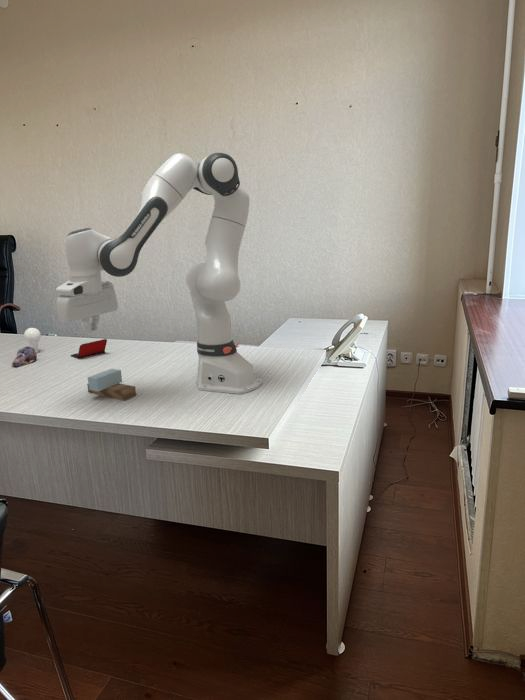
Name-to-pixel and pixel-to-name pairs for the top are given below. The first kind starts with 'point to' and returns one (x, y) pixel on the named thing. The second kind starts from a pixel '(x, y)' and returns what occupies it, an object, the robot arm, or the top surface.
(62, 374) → the top surface
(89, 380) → the block
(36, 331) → the lightbulb
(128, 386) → the rail
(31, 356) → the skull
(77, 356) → the handheld game console
